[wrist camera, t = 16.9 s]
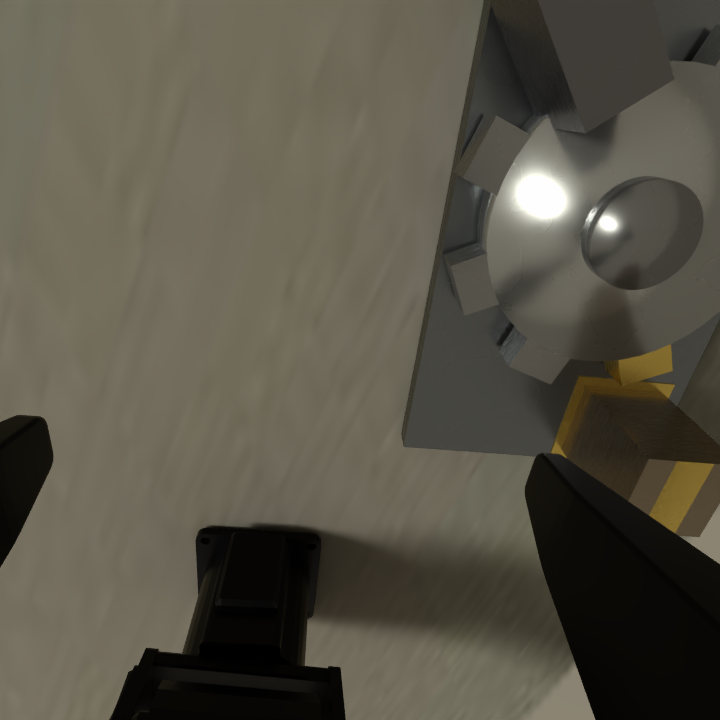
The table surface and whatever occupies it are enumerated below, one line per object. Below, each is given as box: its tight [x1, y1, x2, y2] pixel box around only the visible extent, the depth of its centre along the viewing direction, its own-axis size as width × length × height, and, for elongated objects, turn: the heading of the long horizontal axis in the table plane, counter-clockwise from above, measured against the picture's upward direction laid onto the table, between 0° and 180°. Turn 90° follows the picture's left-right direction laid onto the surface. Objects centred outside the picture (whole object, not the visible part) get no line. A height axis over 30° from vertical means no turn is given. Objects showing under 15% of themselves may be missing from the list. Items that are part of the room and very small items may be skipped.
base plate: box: [401, 0, 720, 458], centre depth 19 cm, size 22×12×1 cm, turn 173°
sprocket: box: [443, 0, 720, 386], centre depth 15 cm, size 18×12×4 cm
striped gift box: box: [562, 385, 720, 537], centre depth 20 cm, size 4×4×5 cm
